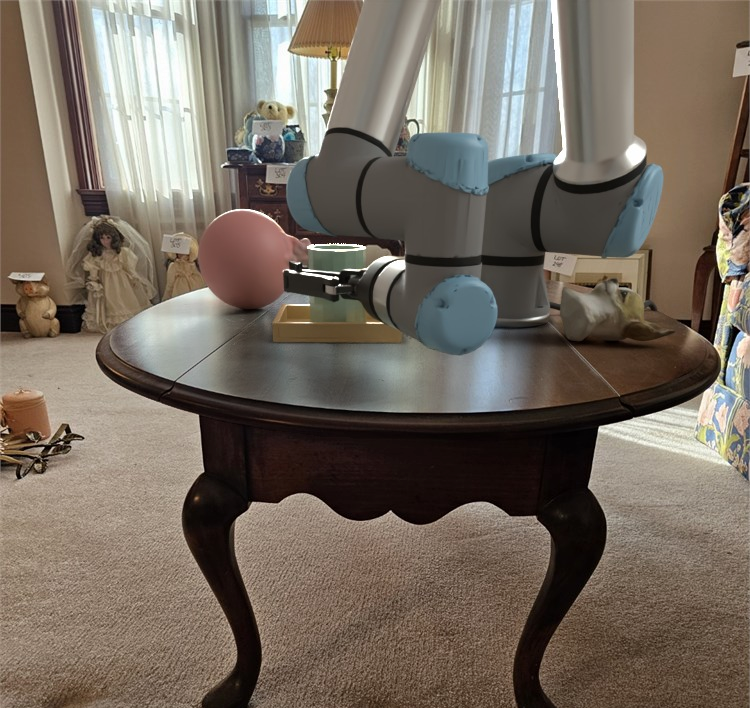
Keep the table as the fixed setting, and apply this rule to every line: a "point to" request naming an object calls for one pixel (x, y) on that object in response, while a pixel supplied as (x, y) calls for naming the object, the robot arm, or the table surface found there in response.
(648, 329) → the ceramic sculpture
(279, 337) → the tray
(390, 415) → the table surface
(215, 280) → the balloon
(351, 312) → the cup
